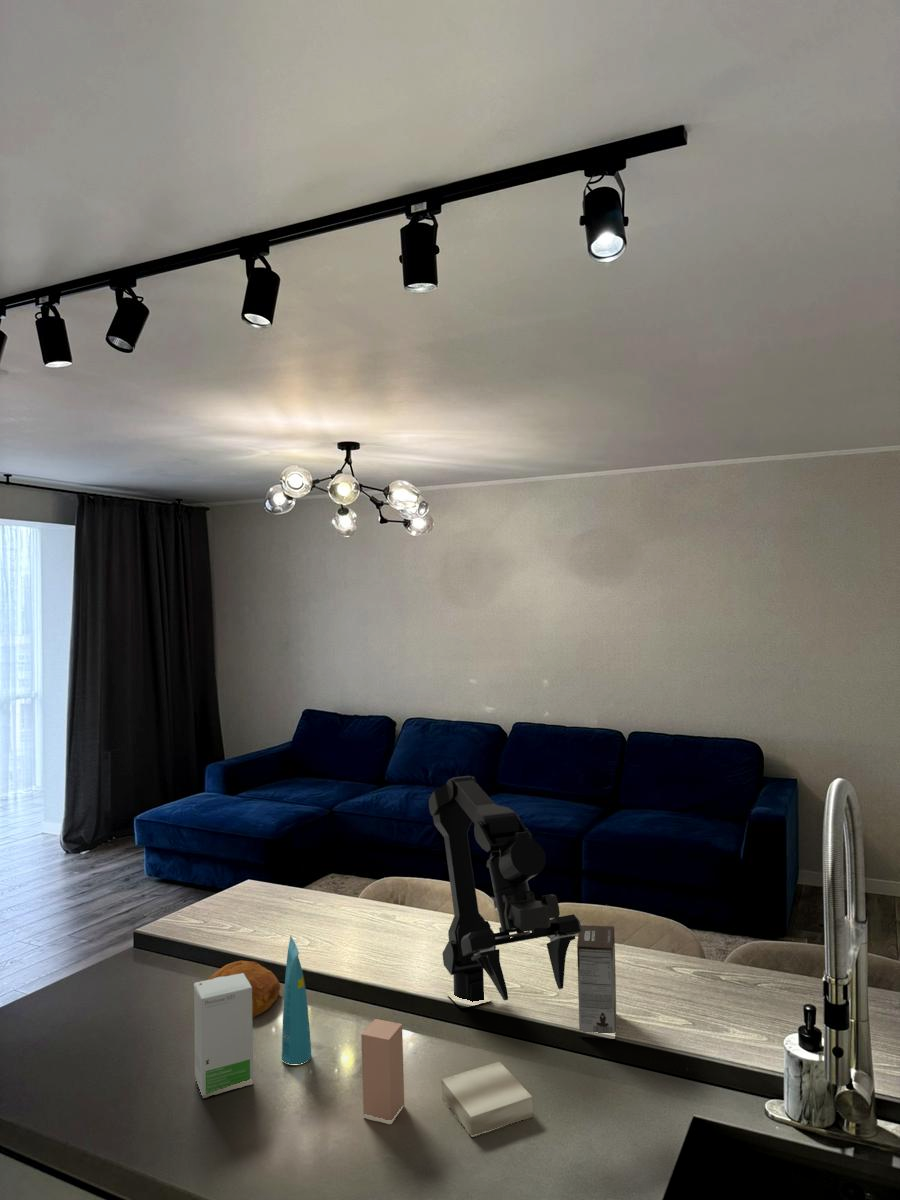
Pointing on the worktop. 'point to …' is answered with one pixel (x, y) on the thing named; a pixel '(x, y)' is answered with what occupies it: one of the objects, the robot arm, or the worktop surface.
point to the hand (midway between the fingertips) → (533, 994)
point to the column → (382, 1069)
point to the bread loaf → (254, 983)
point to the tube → (295, 1012)
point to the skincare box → (223, 1032)
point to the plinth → (486, 1098)
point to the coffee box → (596, 979)
